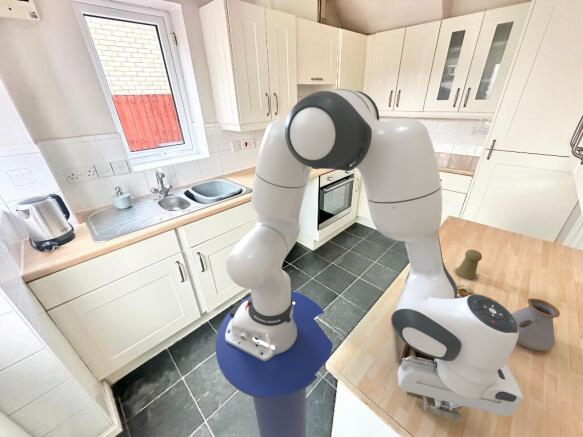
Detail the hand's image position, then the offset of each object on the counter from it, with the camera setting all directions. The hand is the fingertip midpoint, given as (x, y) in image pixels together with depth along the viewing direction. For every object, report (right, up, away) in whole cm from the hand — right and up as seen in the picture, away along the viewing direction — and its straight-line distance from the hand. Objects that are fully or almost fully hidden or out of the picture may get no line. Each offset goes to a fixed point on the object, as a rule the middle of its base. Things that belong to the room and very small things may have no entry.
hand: (442, 405), depth 53 cm
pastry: (+28, +12, +34) cm, 46 cm away
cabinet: (+5, +4, +19) cm, 20 cm away
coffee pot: (+32, +4, +18) cm, 37 cm away
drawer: (+2, -1, +9) cm, 9 cm away
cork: (+37, +18, +44) cm, 61 cm away
